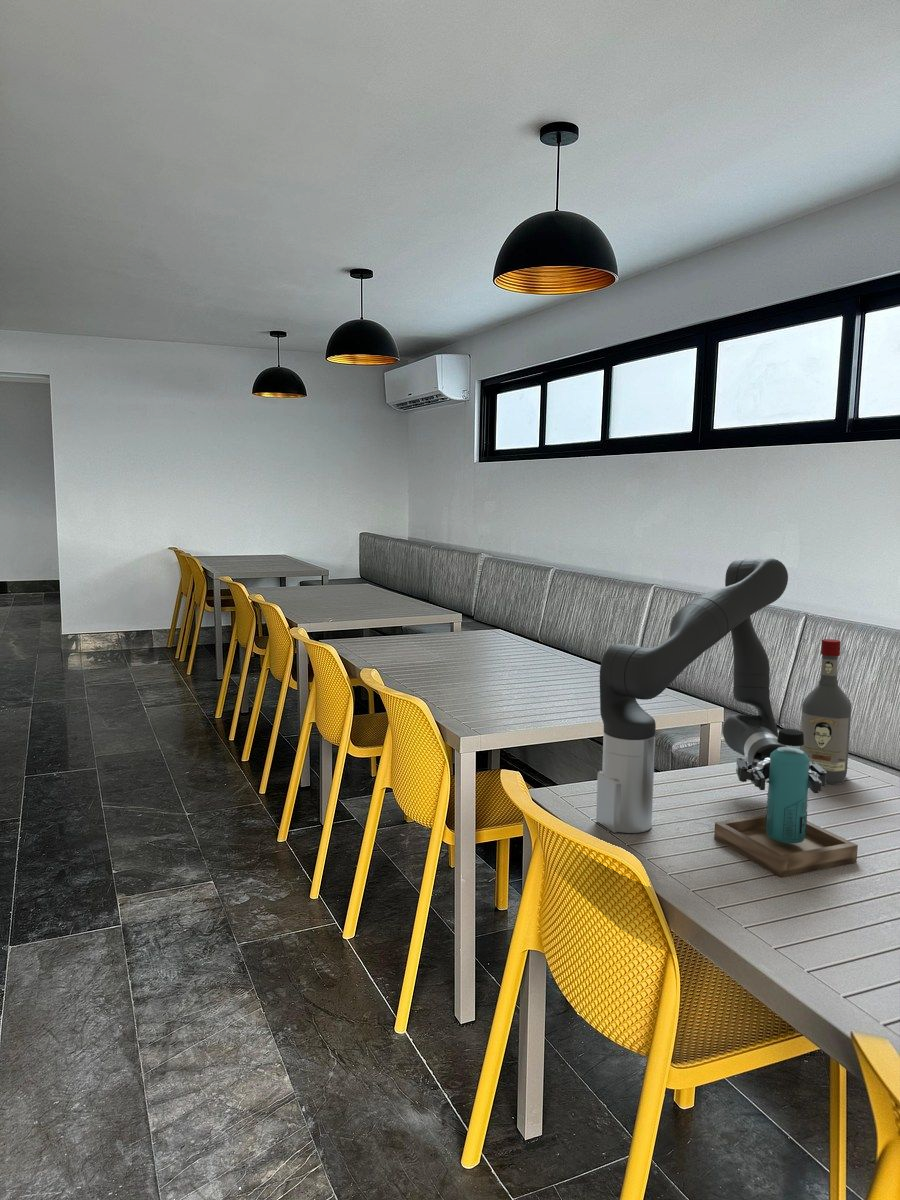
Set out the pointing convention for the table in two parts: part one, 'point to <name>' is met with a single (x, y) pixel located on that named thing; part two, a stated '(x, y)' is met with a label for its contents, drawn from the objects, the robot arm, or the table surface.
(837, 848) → the tray
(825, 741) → the liquor
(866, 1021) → the table surface
